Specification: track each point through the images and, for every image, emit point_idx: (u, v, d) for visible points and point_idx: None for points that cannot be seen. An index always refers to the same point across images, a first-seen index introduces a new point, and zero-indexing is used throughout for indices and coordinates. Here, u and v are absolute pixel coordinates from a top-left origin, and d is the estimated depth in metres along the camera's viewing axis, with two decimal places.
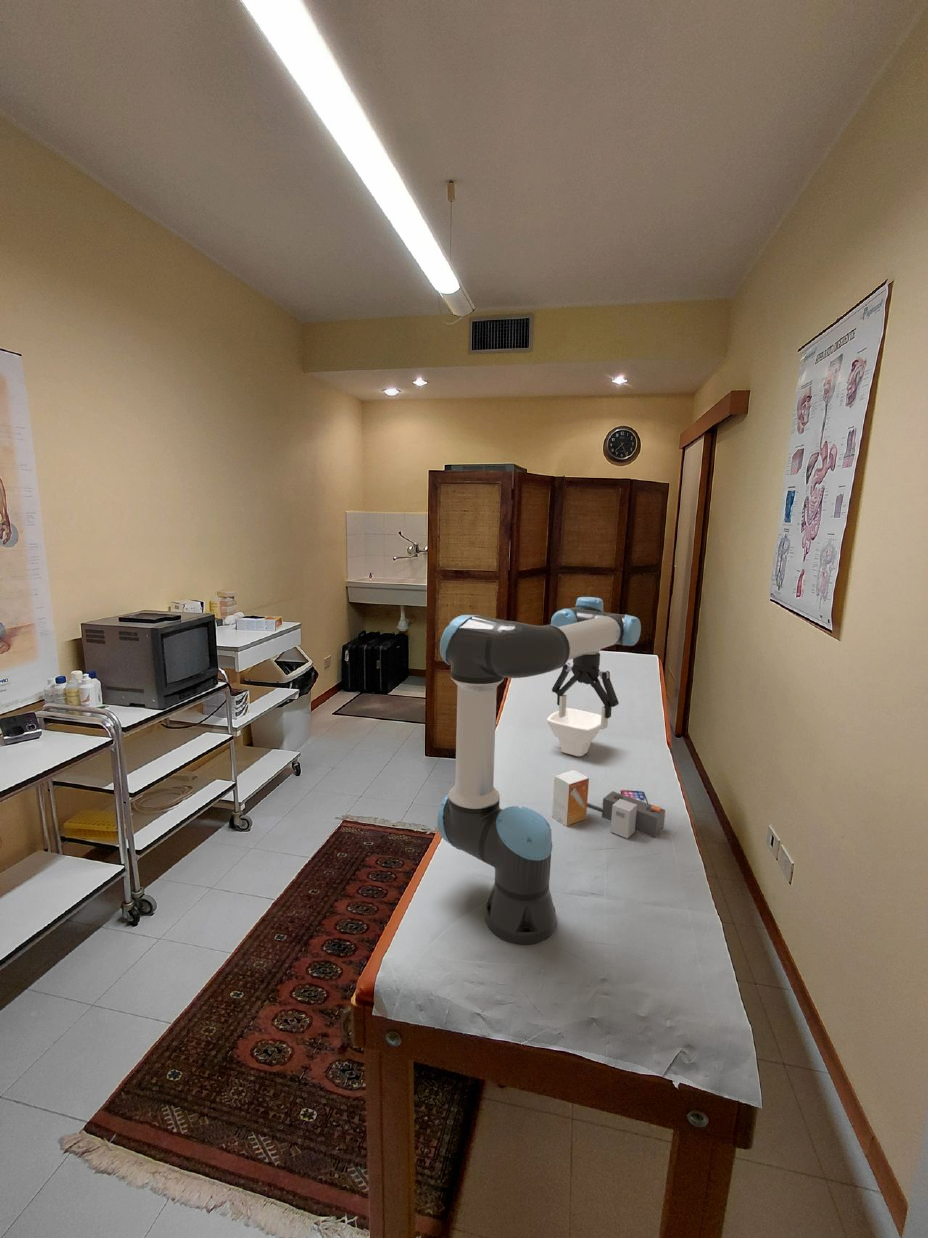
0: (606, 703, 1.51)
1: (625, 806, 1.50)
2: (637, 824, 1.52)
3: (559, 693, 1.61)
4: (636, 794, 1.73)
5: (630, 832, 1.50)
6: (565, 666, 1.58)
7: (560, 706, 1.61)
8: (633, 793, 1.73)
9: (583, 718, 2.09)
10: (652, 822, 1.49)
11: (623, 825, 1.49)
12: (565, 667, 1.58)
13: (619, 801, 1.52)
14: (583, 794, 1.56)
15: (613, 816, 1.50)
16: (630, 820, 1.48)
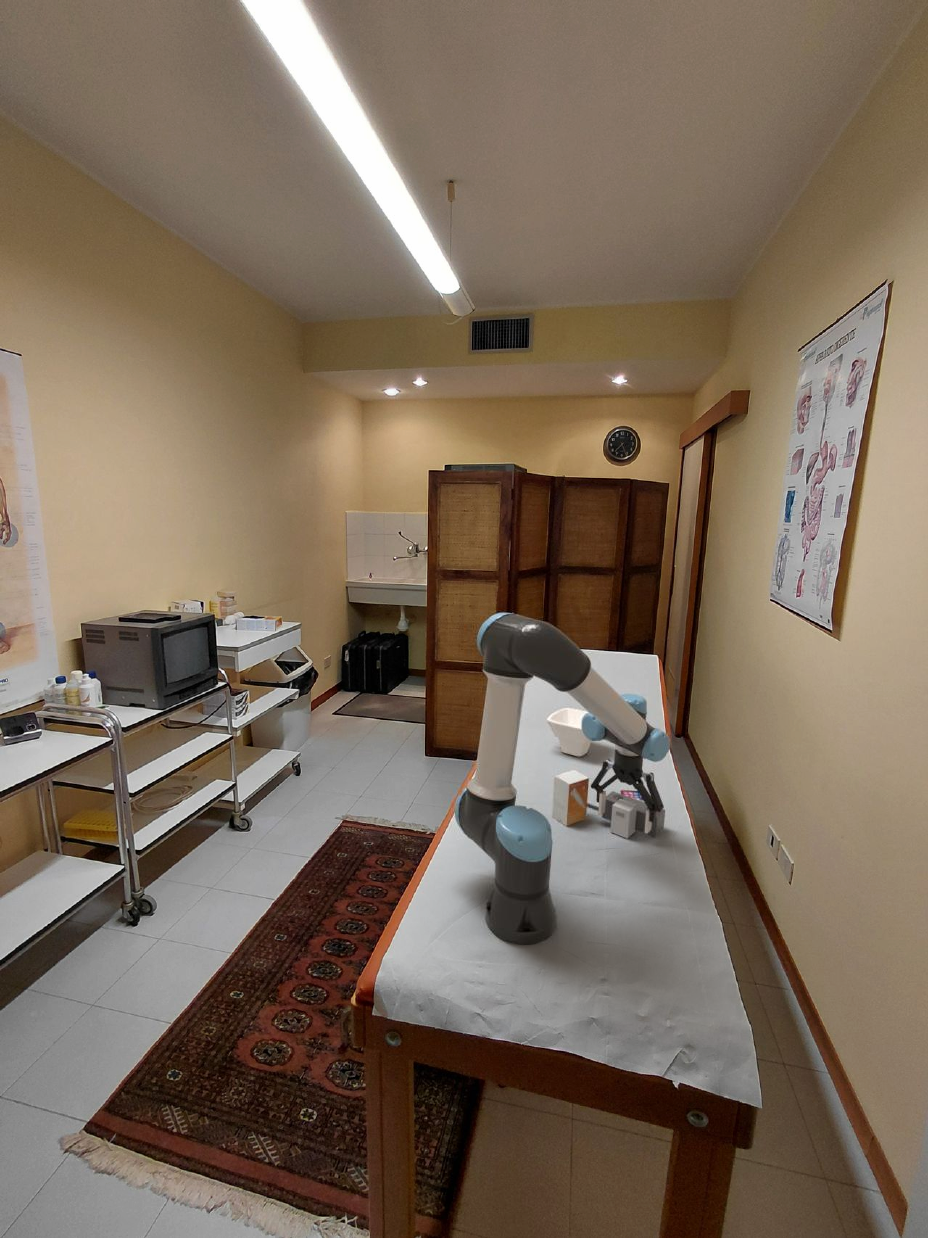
0: (650, 807, 1.44)
1: (625, 806, 1.50)
2: (637, 824, 1.52)
3: (599, 790, 1.54)
4: (636, 794, 1.73)
5: (630, 832, 1.50)
6: (605, 764, 1.52)
7: (600, 804, 1.54)
8: (633, 793, 1.73)
9: None
10: (652, 822, 1.49)
11: (623, 825, 1.49)
12: (605, 764, 1.52)
13: (619, 801, 1.52)
14: (583, 794, 1.56)
15: (613, 816, 1.50)
16: (630, 820, 1.48)
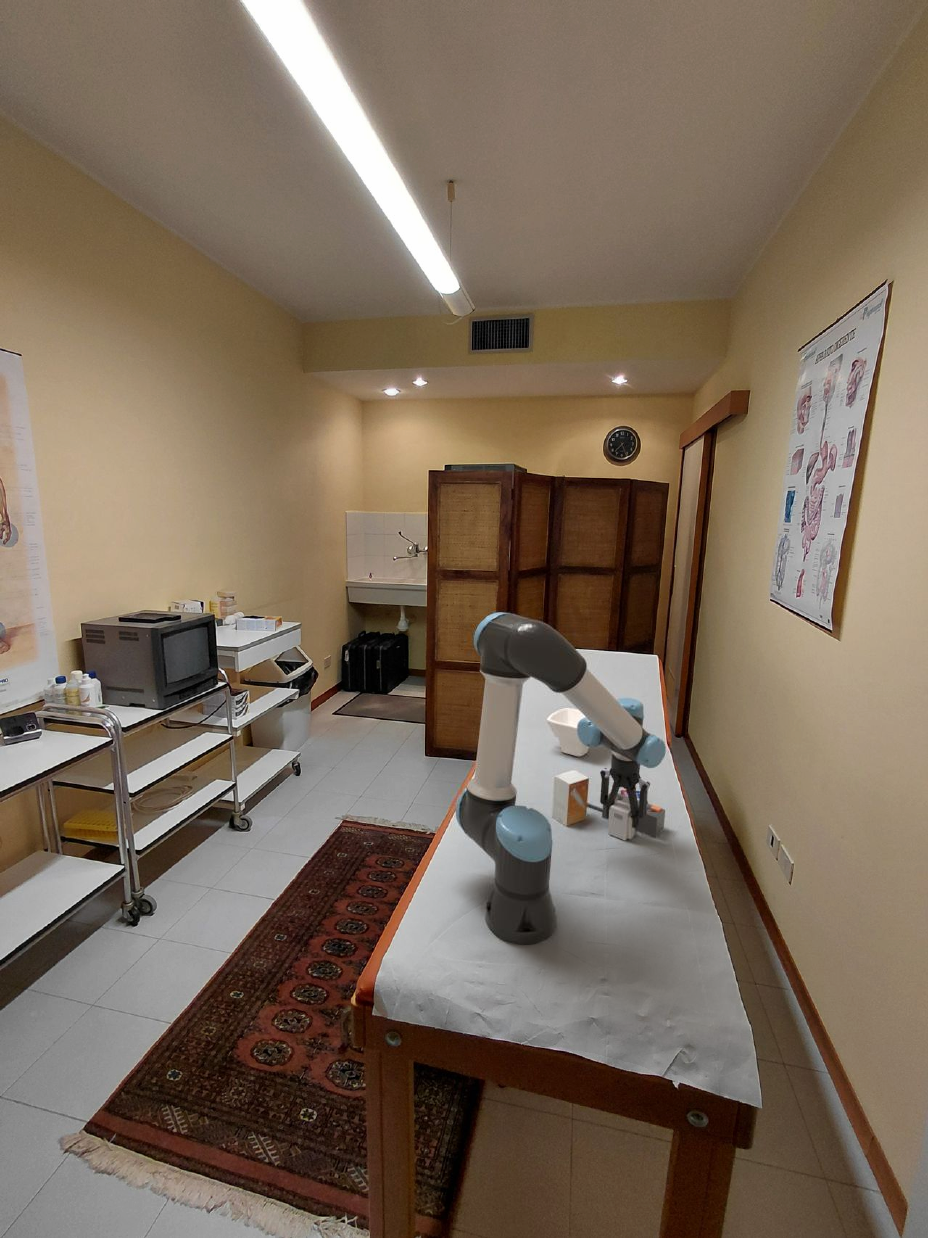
0: (634, 813, 1.46)
1: (623, 808, 1.49)
2: None
3: (608, 805, 1.51)
4: (637, 794, 1.73)
5: None
6: (602, 772, 1.51)
7: None
8: None
9: None
10: (652, 822, 1.49)
11: (621, 827, 1.48)
12: (603, 773, 1.51)
13: (617, 803, 1.51)
14: (583, 794, 1.56)
15: (611, 818, 1.49)
16: (628, 822, 1.47)
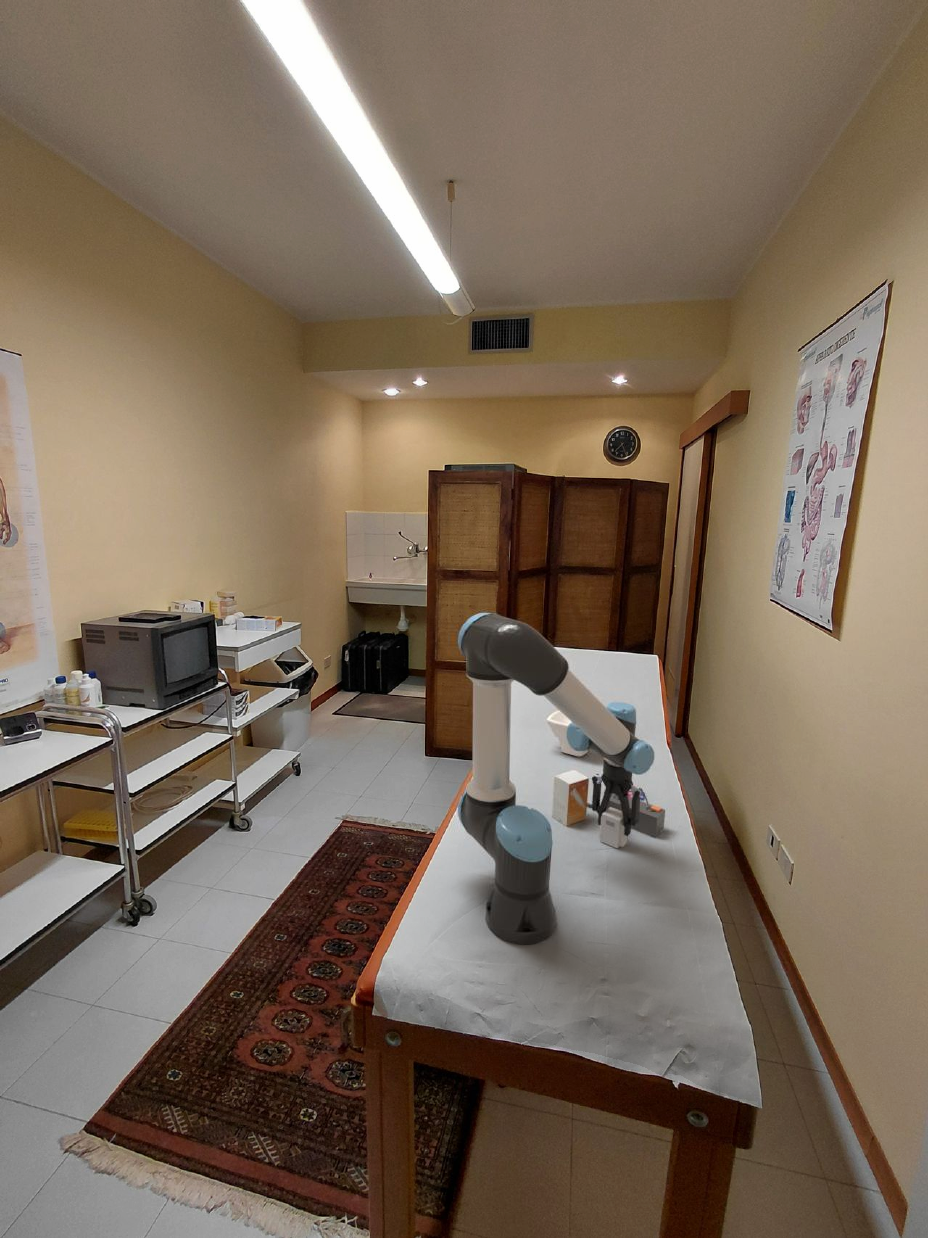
0: (626, 821, 1.42)
1: (615, 815, 1.45)
2: (637, 824, 1.52)
3: (600, 812, 1.47)
4: None
5: None
6: (594, 778, 1.47)
7: None
8: None
9: None
10: (652, 822, 1.49)
11: (613, 835, 1.44)
12: (594, 779, 1.47)
13: (609, 810, 1.47)
14: (583, 794, 1.56)
15: (602, 825, 1.46)
16: (620, 829, 1.44)
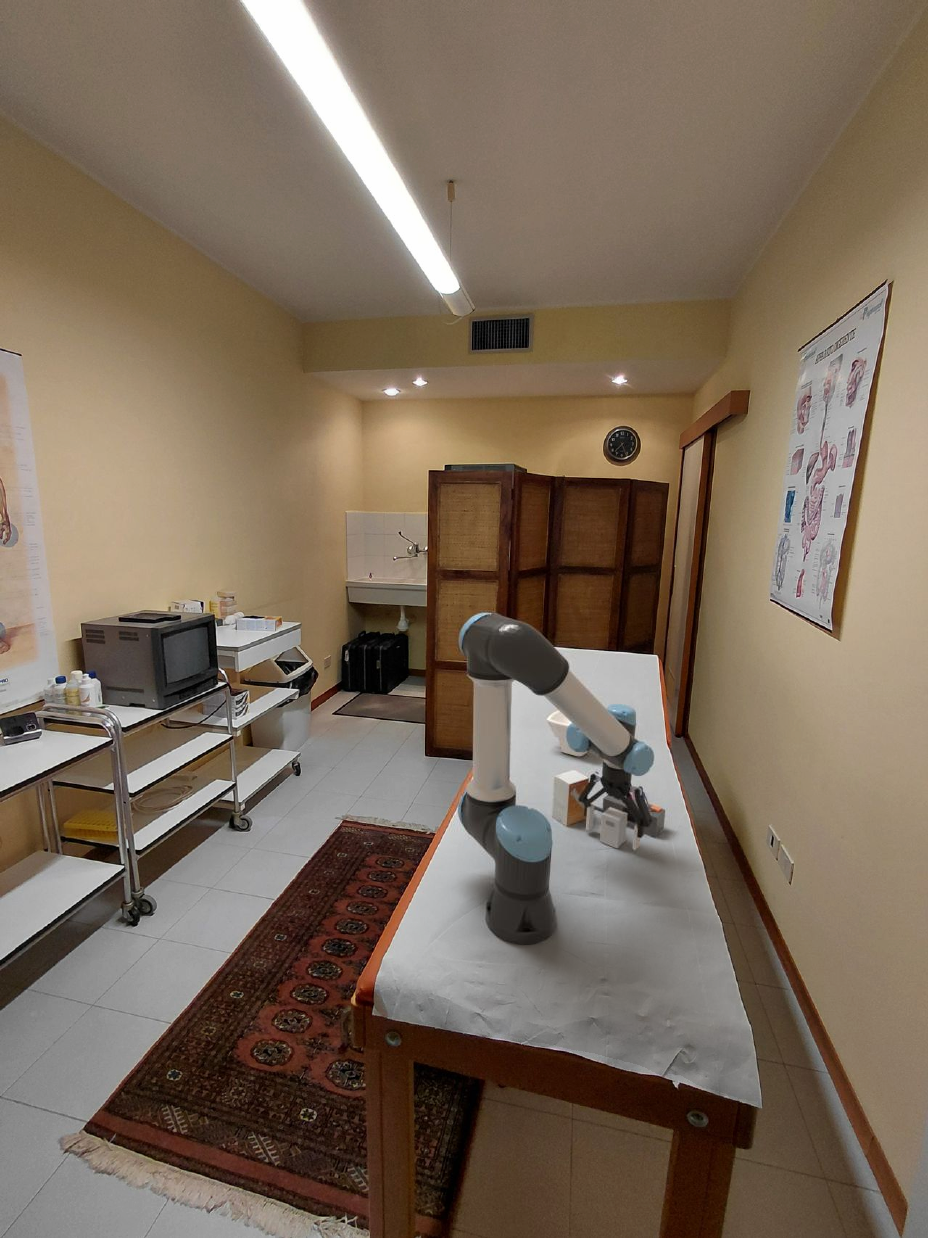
0: (639, 822, 1.39)
1: (615, 815, 1.45)
2: None
3: (586, 804, 1.49)
4: None
5: (620, 842, 1.45)
6: (593, 776, 1.46)
7: (587, 818, 1.49)
8: None
9: None
10: None
11: (613, 835, 1.44)
12: (593, 777, 1.46)
13: (609, 810, 1.47)
14: None
15: (602, 825, 1.46)
16: (620, 829, 1.44)
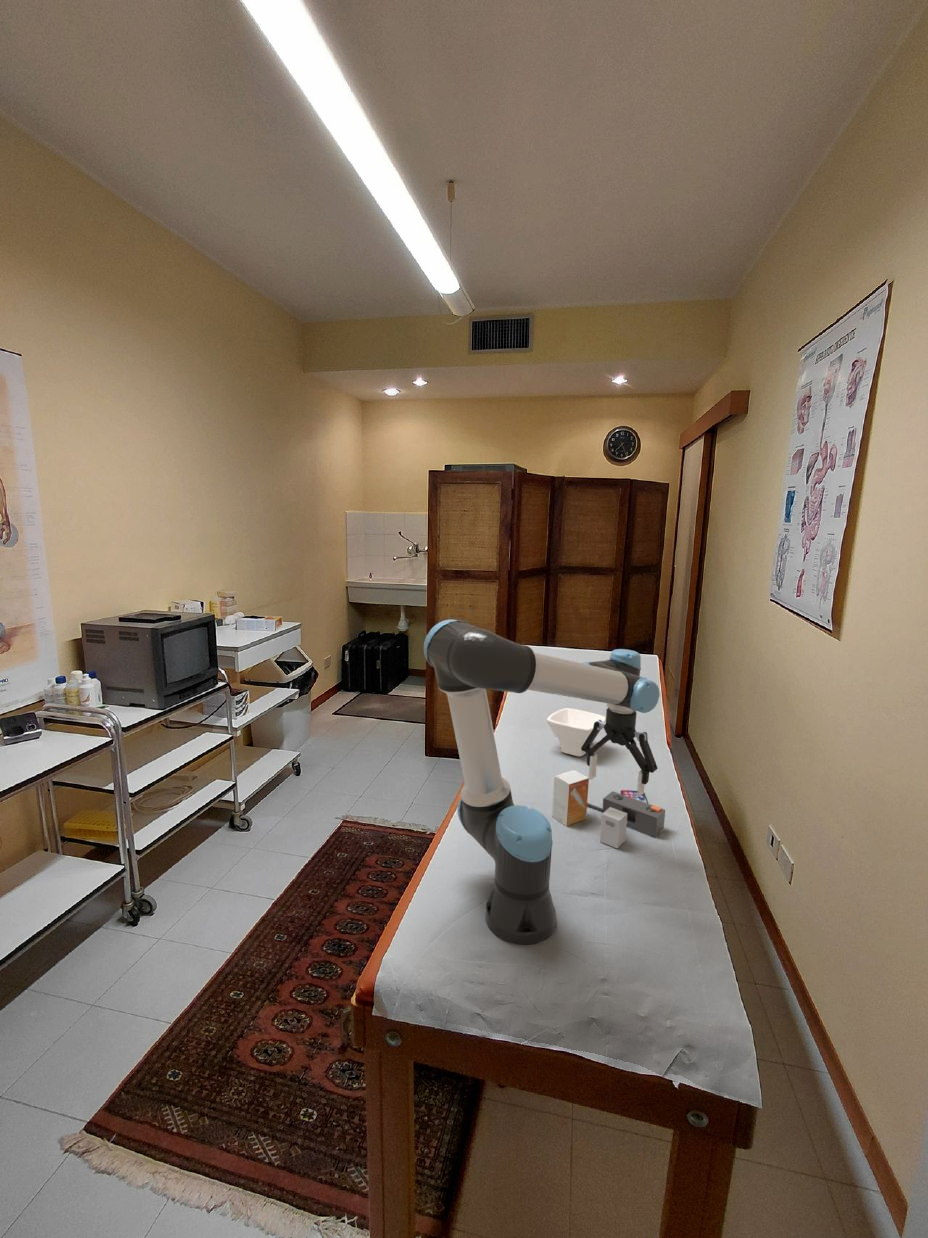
0: (643, 768, 1.37)
1: (615, 815, 1.45)
2: (637, 824, 1.52)
3: (589, 753, 1.46)
4: None
5: (620, 842, 1.45)
6: (597, 724, 1.44)
7: (590, 767, 1.46)
8: (633, 793, 1.73)
9: (583, 718, 2.09)
10: (652, 822, 1.49)
11: (613, 835, 1.44)
12: (597, 725, 1.44)
13: (609, 810, 1.47)
14: (583, 794, 1.56)
15: (602, 825, 1.46)
16: (620, 829, 1.44)
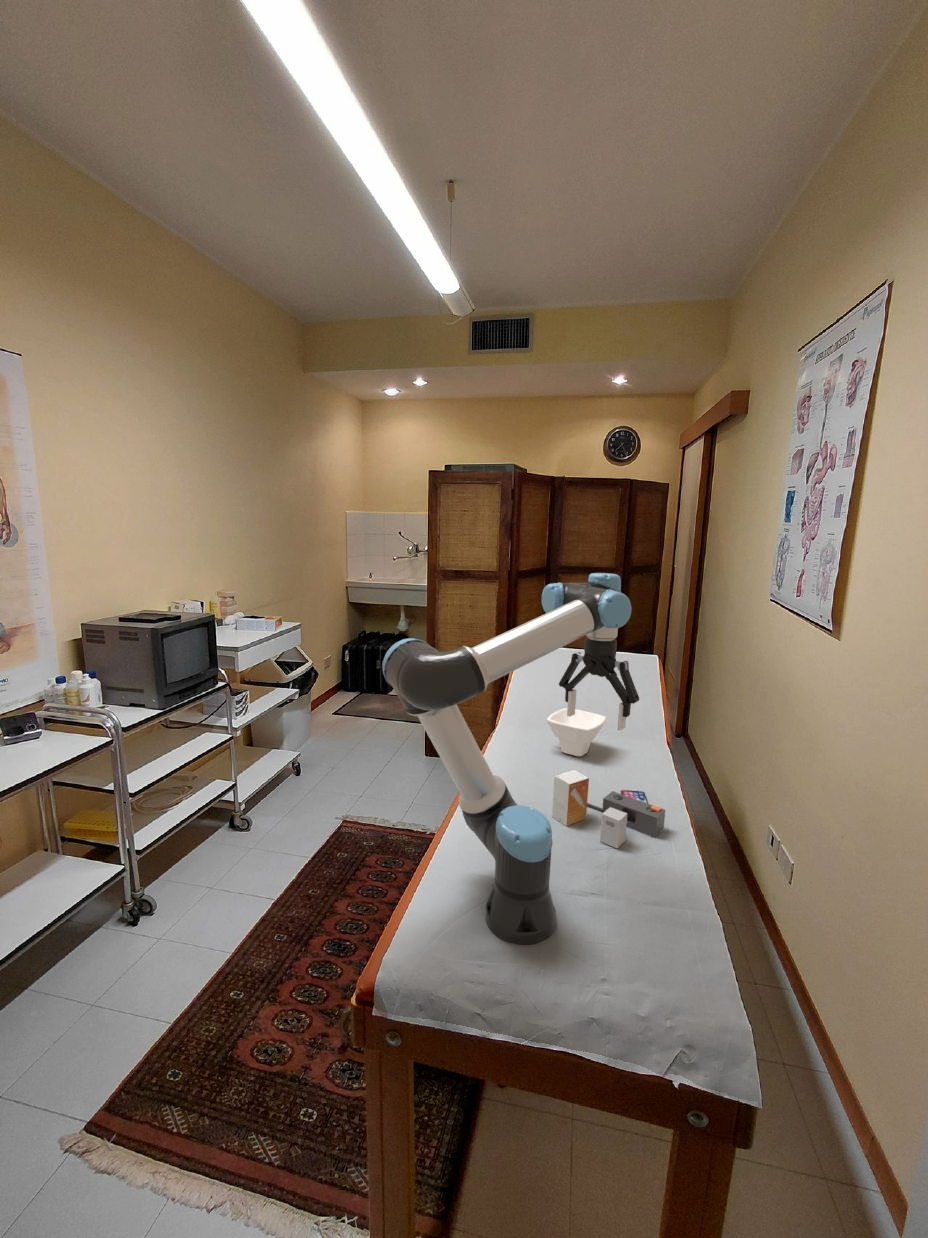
0: (624, 699, 1.27)
1: (615, 815, 1.45)
2: (637, 824, 1.52)
3: (568, 687, 1.36)
4: (637, 794, 1.73)
5: (620, 842, 1.45)
6: (575, 655, 1.34)
7: (569, 703, 1.36)
8: (633, 793, 1.73)
9: (583, 718, 2.09)
10: (652, 822, 1.49)
11: (613, 835, 1.44)
12: (575, 656, 1.34)
13: (609, 810, 1.47)
14: (583, 794, 1.56)
15: (602, 825, 1.46)
16: (620, 829, 1.44)
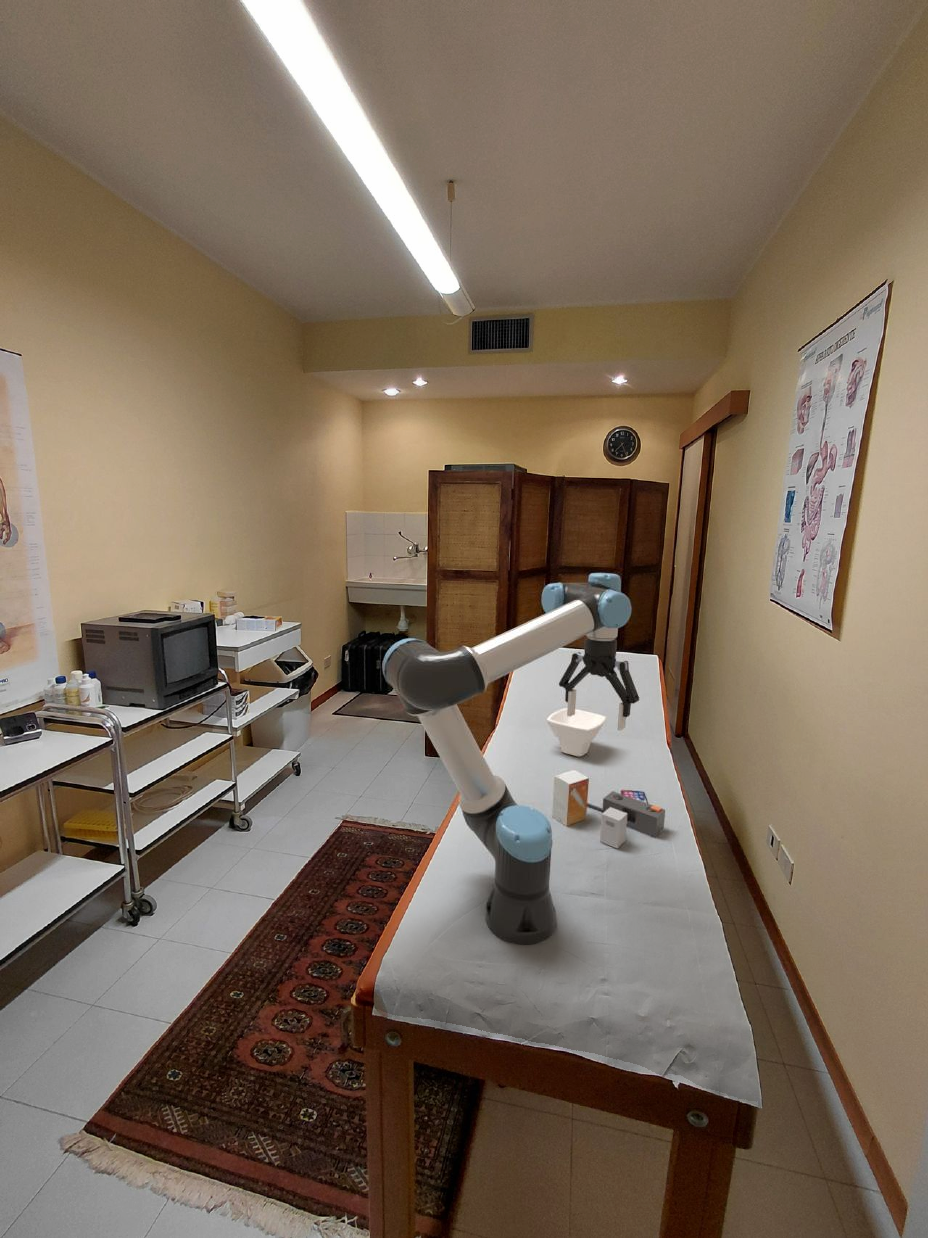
0: (624, 699, 1.27)
1: (615, 815, 1.45)
2: (637, 824, 1.52)
3: (568, 687, 1.36)
4: (637, 794, 1.73)
5: (620, 842, 1.45)
6: (575, 655, 1.34)
7: (569, 703, 1.36)
8: (633, 793, 1.73)
9: (583, 718, 2.09)
10: (652, 822, 1.49)
11: (613, 835, 1.44)
12: (575, 656, 1.34)
13: (609, 810, 1.47)
14: (583, 794, 1.56)
15: (602, 825, 1.46)
16: (620, 829, 1.44)
